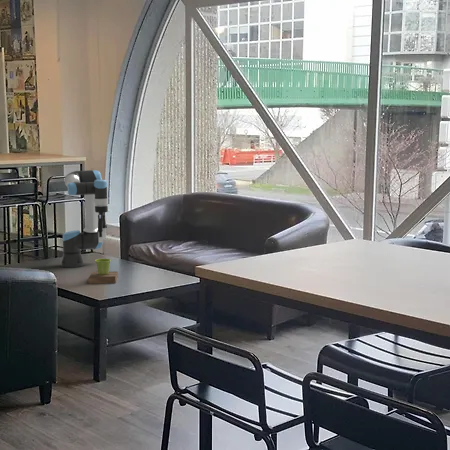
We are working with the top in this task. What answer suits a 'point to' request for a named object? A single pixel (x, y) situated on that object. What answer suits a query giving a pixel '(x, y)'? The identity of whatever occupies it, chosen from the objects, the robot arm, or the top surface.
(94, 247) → the robot arm
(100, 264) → the plant pot
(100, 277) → the walnut plinth
